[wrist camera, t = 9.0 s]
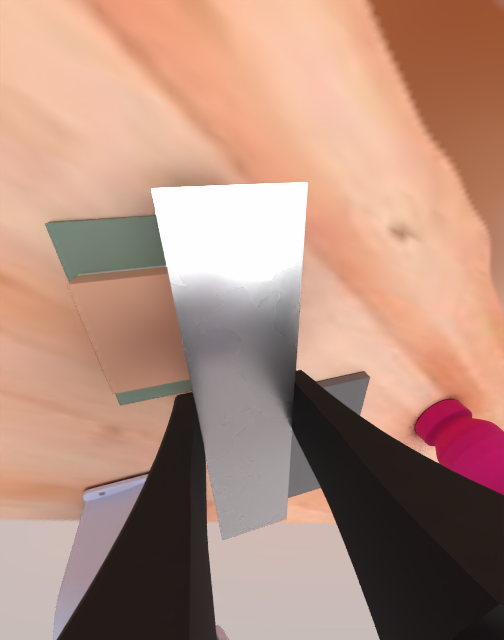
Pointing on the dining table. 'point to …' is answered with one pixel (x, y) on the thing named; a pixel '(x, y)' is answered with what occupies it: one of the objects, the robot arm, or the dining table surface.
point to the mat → (113, 264)
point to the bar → (239, 333)
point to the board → (300, 472)
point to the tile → (132, 326)
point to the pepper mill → (465, 443)
